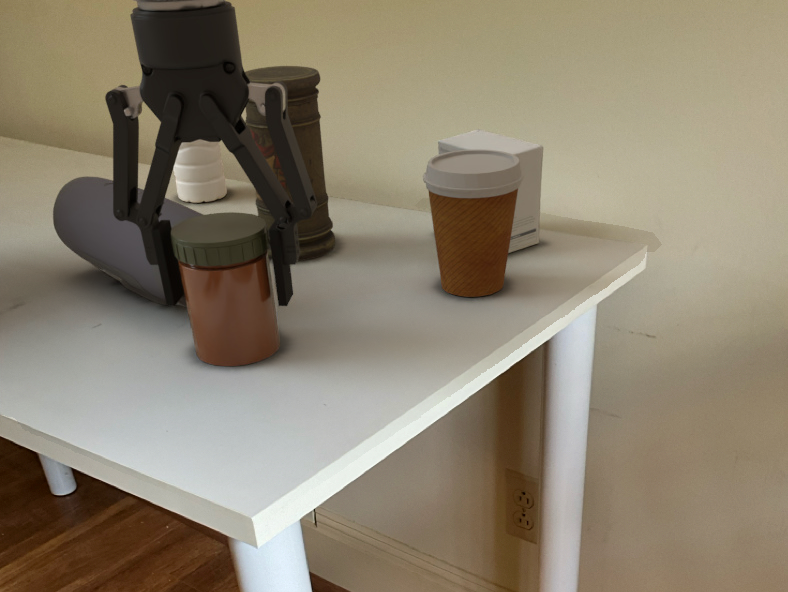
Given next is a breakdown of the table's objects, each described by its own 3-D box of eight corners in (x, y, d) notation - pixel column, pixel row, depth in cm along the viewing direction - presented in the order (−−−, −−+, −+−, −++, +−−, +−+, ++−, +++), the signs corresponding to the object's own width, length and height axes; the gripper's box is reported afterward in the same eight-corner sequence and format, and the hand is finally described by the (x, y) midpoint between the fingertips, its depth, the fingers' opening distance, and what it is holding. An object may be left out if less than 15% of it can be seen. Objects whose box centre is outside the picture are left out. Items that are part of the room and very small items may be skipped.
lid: (246, 269, 71) (243, 245, 70) (157, 263, 73) (152, 240, 72) (283, 236, 77) (281, 214, 76) (200, 231, 79) (196, 210, 78)
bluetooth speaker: (252, 305, 88) (237, 202, 82) (171, 334, 83) (148, 227, 77) (138, 253, 101) (118, 161, 95) (62, 276, 97) (36, 180, 91)
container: (310, 229, 106) (293, 61, 95) (351, 248, 100) (338, 71, 89) (243, 247, 102) (217, 72, 91) (282, 267, 96) (259, 84, 85)
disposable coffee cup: (495, 310, 85) (498, 179, 77) (408, 294, 88) (404, 169, 81) (534, 276, 91) (540, 153, 84) (451, 263, 95) (450, 144, 88)
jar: (181, 362, 78) (157, 249, 72) (217, 327, 84) (198, 219, 78) (261, 369, 76) (243, 253, 70) (292, 333, 82) (278, 223, 76)
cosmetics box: (437, 234, 103) (435, 138, 96) (479, 222, 106) (480, 127, 99) (497, 257, 96) (500, 155, 89) (541, 243, 99) (546, 143, 92)
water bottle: (178, 205, 116) (136, -20, 101) (178, 191, 121) (138, -24, 106) (245, 199, 117) (213, -24, 102) (242, 185, 122) (211, -29, 107)
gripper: (14, 13, 62) (94, 316, 76) (321, 3, 60) (347, 317, 73) (58, 0, 68) (125, 283, 82) (339, -10, 66) (360, 283, 79)
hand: (230, 299), depth 77 cm, fingers open, 9 cm apart
